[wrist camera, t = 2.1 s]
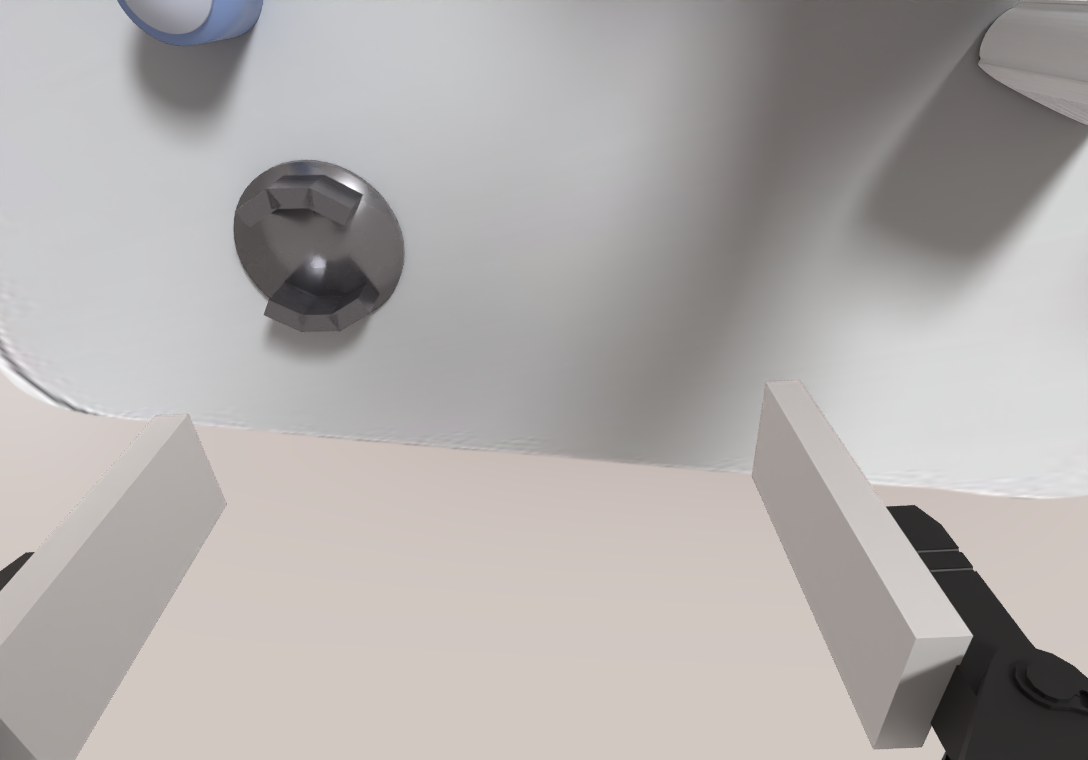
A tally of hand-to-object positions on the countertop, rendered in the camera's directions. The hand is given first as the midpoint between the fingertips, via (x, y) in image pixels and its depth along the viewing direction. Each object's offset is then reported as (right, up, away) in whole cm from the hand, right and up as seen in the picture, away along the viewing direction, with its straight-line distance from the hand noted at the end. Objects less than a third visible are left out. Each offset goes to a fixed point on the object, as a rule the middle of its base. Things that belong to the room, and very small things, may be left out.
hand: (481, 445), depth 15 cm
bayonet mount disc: (-13, +11, +28) cm, 33 cm away
